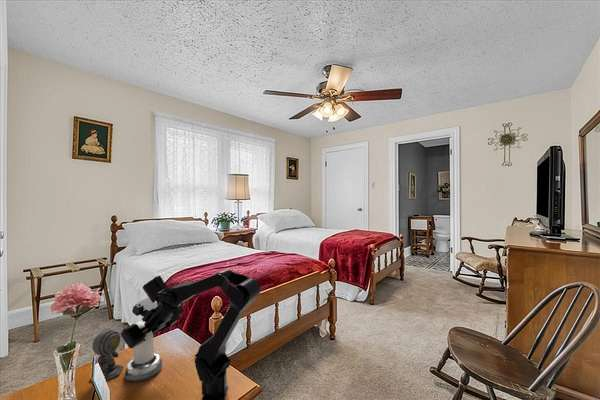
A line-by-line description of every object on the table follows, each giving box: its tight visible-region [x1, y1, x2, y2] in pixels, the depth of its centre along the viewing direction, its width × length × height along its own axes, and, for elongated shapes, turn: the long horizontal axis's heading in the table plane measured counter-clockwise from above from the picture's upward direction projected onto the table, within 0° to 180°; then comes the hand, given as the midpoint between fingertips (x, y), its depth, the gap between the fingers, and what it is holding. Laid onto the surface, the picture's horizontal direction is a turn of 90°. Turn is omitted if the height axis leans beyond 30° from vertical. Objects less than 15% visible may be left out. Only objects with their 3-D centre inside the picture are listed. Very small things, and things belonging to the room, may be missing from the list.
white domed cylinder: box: [132, 320, 155, 364], centre depth 93 cm, size 6×6×12 cm
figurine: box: [88, 329, 124, 383], centre depth 92 cm, size 9×10×15 cm
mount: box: [124, 352, 163, 383], centre depth 94 cm, size 11×11×4 cm
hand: (140, 339), depth 94 cm, fingers closed on white domed cylinder, 6 cm apart
